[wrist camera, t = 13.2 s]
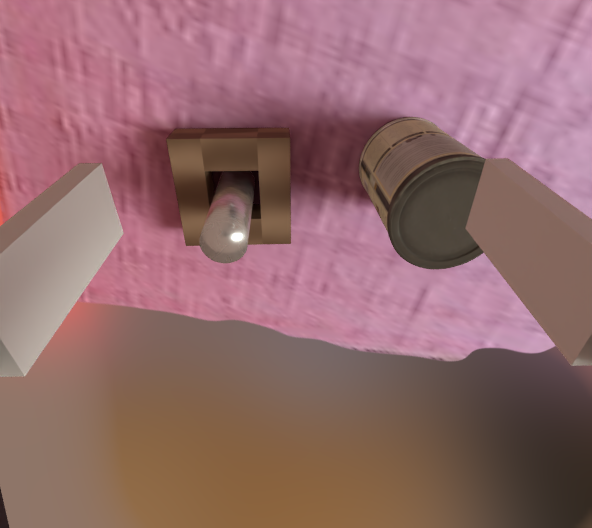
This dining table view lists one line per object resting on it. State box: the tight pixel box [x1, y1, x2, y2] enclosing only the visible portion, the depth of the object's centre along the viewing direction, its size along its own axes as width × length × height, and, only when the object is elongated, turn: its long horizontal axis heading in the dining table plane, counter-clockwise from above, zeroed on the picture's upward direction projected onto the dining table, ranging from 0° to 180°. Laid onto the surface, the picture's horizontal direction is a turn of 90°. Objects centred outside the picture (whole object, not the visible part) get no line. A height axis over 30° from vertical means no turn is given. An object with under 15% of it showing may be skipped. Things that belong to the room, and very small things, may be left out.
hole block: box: [166, 128, 291, 246], centre depth 42 cm, size 12×12×4 cm
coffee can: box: [359, 117, 486, 269], centre depth 37 cm, size 10×10×14 cm
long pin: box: [199, 171, 255, 263], centre depth 37 cm, size 4×4×14 cm
